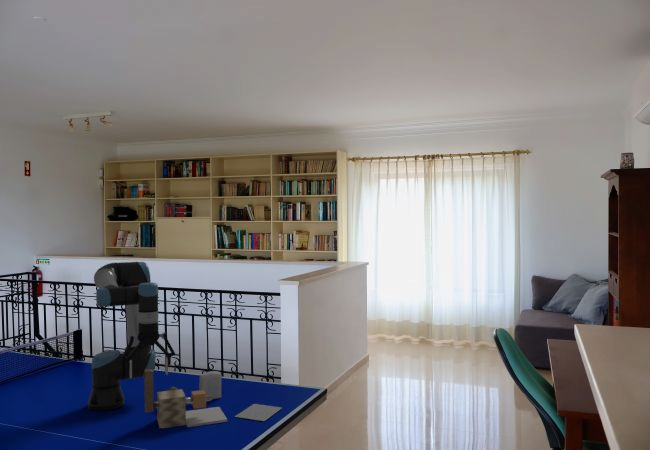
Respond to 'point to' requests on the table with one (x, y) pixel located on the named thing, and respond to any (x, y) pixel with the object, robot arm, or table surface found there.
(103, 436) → the table surface
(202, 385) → the photo printer
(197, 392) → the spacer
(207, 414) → the mat
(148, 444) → the table surface
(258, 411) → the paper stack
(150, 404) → the handled brown block
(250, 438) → the table surface
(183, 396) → the bearing block
